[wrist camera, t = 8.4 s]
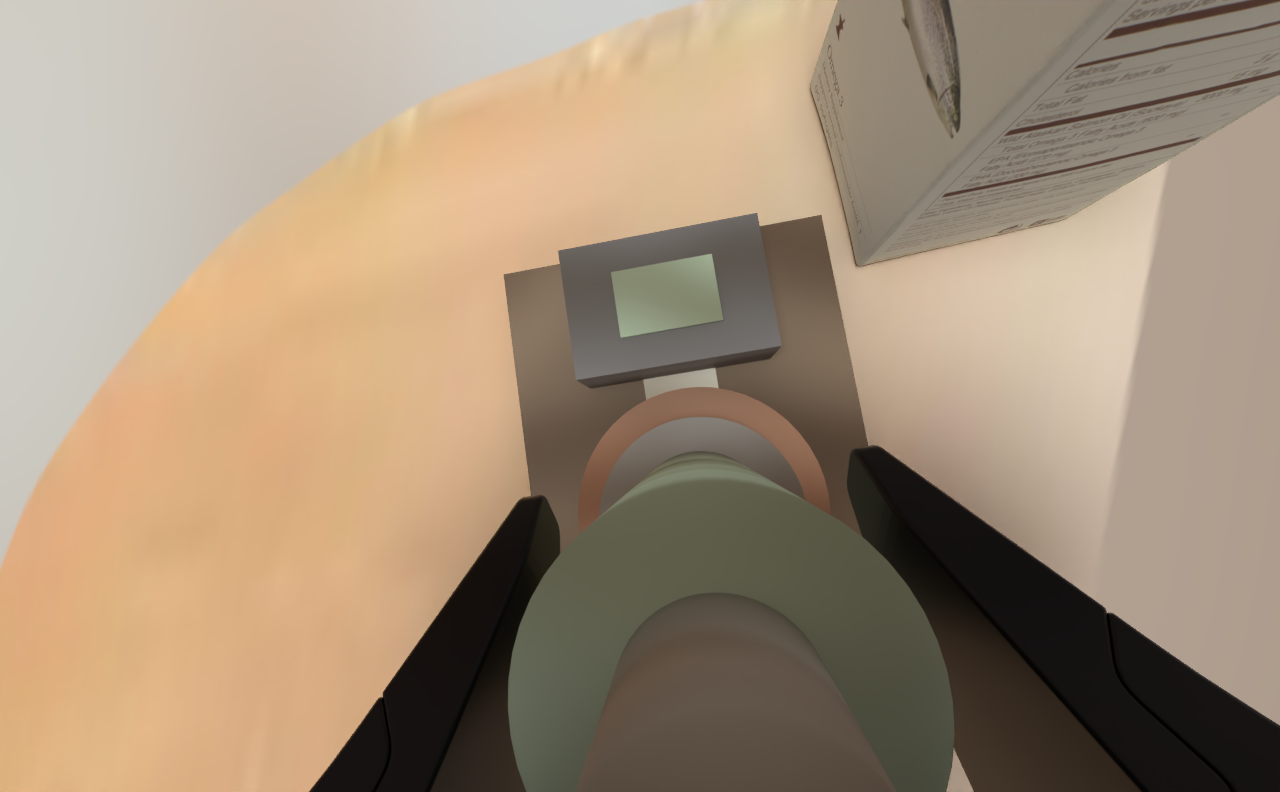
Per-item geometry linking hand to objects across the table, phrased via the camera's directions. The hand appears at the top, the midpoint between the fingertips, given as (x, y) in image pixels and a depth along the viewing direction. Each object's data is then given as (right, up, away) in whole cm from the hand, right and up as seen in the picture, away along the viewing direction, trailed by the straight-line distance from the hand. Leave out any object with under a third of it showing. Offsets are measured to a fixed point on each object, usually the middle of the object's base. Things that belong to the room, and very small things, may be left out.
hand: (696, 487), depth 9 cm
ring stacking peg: (+1, -2, +7) cm, 8 cm away
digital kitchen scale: (+1, 0, +9) cm, 9 cm away
